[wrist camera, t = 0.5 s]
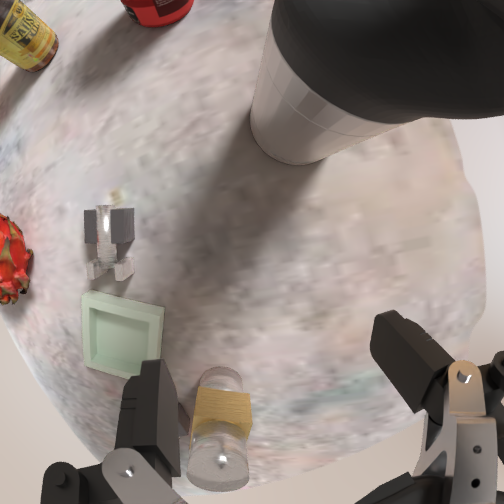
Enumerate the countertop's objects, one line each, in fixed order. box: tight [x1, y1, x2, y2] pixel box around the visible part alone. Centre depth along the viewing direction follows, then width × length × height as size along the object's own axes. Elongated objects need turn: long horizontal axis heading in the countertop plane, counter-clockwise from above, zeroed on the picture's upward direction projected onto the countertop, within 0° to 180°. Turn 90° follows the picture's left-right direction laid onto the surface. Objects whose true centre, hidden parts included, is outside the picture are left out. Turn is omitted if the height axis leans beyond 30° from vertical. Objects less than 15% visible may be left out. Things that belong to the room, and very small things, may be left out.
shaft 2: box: [178, 403, 190, 438], centre depth 30 cm, size 7×4×3 cm, turn 18°
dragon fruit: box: [0, 213, 33, 305], centre depth 24 cm, size 8×8×12 cm
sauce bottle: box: [0, 0, 59, 72], centre depth 13 cm, size 7×6×20 cm
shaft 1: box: [84, 205, 134, 281], centre depth 26 cm, size 7×4×3 cm, turn 178°
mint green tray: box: [81, 290, 165, 379], centre depth 29 cm, size 9×9×2 cm
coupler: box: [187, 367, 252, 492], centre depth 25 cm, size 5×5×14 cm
